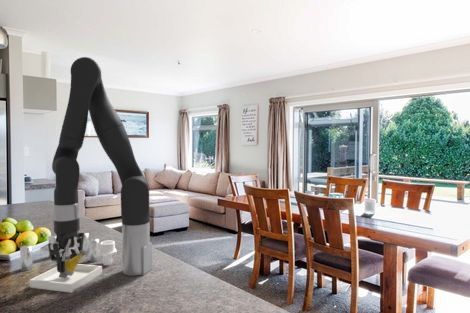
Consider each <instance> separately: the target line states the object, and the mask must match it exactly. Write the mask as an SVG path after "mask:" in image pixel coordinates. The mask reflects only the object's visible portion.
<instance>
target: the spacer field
mask: <svg viewBox="0 0 470 313" xmlns="http://www.w3.org/2000/svg"><path fill="white" fill-rule="evenodd" d="M83 233H84V240H83V248H82V250H81V251H79V253H78V255H79V254H81V253H83V254H82V256H84V255H88V256H89V257H88V258H89V259H88V261H89V262H90V263H95V262H96V263H97V262H98V261H100V259H101V258H100V257H101V256H98V251H99V250H100V238H98V237H96V238H93V237H92V238H90V237H89V236H90V234H89V233H90V232H83ZM56 237H57V235H56V234H55V235H50V236H48V244H49V243H53V242H55V241H56ZM79 245H80V244H79V243H78V246H79ZM19 251H20V253H19V254H20V256H19V257H20V271H21V272H27V271H31V270H33V268H34V267H33V266H34V265H33V263H34V262H33V259H34V258H33V245H31V244H30V245H29V244H28V245H21V246H20V248H19ZM55 257H56V255H55ZM48 258H49V259H51V257H50V252H49V251H48Z"/></svg>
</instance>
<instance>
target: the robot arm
mask: <svg viewBox="0 0 470 313" xmlns="http://www.w3.org/2000/svg"><path fill="white" fill-rule="evenodd" d="M72 62H73V63H72V64H71V66H70V89H69V95H68V101H67V107H66V111H65V114H64V119H63V121H62V126H61V131H60V134H59V138H58V145H57V148H56V150H55V153H54V156H53V160H52V164H51V169H52V172H53V173H54V175H55V188H54V190H53V204H54V206H53V233H54V234H55V235H57V237H56V241H55V242H53V243H49V242H48V244H47V245H48V246H47V247H48V253H49V252H50V257H51V258H50V260H51V261H52V262H53V261H54V262H56V267H57V271H58V272H61V273H63V272H65V262H66V260H65V259H66V254H68V253H70V254H69V257H70V258H69V260H70V259H72V258H74V257H76V256H77V255H79V251H81V250H82V248H83V240H84V233H85V232H79V231H80V229H81V228H80V227H81V226H80V224H81V223H80V206H79V189H78V188H79V182H80V181H79V180H80V173H81V172H80V165H79V164H80V163H79V162H78V160H77V159H78V155H79V152H80V150H81V149H82V147H83V145H84V140H85V136H86V132H87V125H88V118H89V117H90V119H91V122H92V125H93V128H94V131H95V134H96V136H97V138H98V141H99V143H100V145H101V148H102V149H103V151H104V152H105V155H106V156H107V157H108V159H109V160H110V161H111V163H112V164H113V166H114V168H115V170H116V172H117V174H118V177H119V180H120V183H121V186H120V187H121V188H120V216H121V244H122V245H121V246H122V247H121V248H122V249H121V250H122V252H121V254H122V274H123V275H125V276H130V277H133V276H145V275H146V274H147V273H149V272H150V271H151V270H152V269H153V242H151V241H150V240H151V239H150V238H151V237H150V233H151V232H150V231H151V230H150V226H151V225H150V221H151V220H150V218H151V217H150V216H151V215H150V184H149V182H148V180H147V179H146V177H145V175H144V174H143V172H142V170H141V169H140V167H139V164H138V162H137V160H136V157H135V154H134V150H133V147H132V144H131V142H130V139H129V135H128V133H127V131H126V128H125V126H124V124H123V121H122V120H121V118H120V116H119V114H118V112H117V111H116V109H115V108H114V106H113V104H111V101H110V100H109V97H108V95H107V92H106V89H105V86H104V83H103V79H102V70H101V67H100V65H99V63H98V62H96V61H95V60H94V59H92V58H91V57H87V56H83V57H82V56H81V57H79V58H77V59H75V60H74V61H72ZM88 115H89V116H88ZM79 244H80V245H79ZM68 251H69V252H68ZM55 255H56V257H55Z"/></svg>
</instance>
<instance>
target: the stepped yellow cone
mask: <svg viewBox="0 0 470 313" xmlns="http://www.w3.org/2000/svg"><path fill="white" fill-rule="evenodd" d="M82 254H83V253H81V254H79V253H78V255H77V256H76V257H74V258H72V259H70V258H69V259H68V260H65V272H63V273H61V272H60V275H59V277H61V278H66V277H67V276H68V275H69V276H72V275H73V274H74V270H75V268H76V266H77V264H79V262H80V260H81V258H82V256H83V255H82Z"/></svg>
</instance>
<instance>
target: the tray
mask: <svg viewBox="0 0 470 313" xmlns="http://www.w3.org/2000/svg"><path fill="white" fill-rule="evenodd" d="M102 274H103V266H102V265H93V264H82V263H77V266H76V268H75V270H74V274H73V275H72V276H69V275H68V276H67V277H66V278H61V277H59V275H60V272H58V271H57V266H55V267H53V268H51V269H49V270H47V271H45V272H43V273H41V274H39V275H36V276H35V277H33V278H31V279H29V288H30V289H37V290H38V289H39V290H45V291H46V290H47V291H54V292H55V291H56V292H62V293H63V292H64V293H72V294H73V292H75V291H77V290H78V289H80V288H81V287H83V286H85V285H86V284H88V283H89V282H91V281H92V280H94V279H95V278H97V277H99V276H100V275H102Z"/></svg>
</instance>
